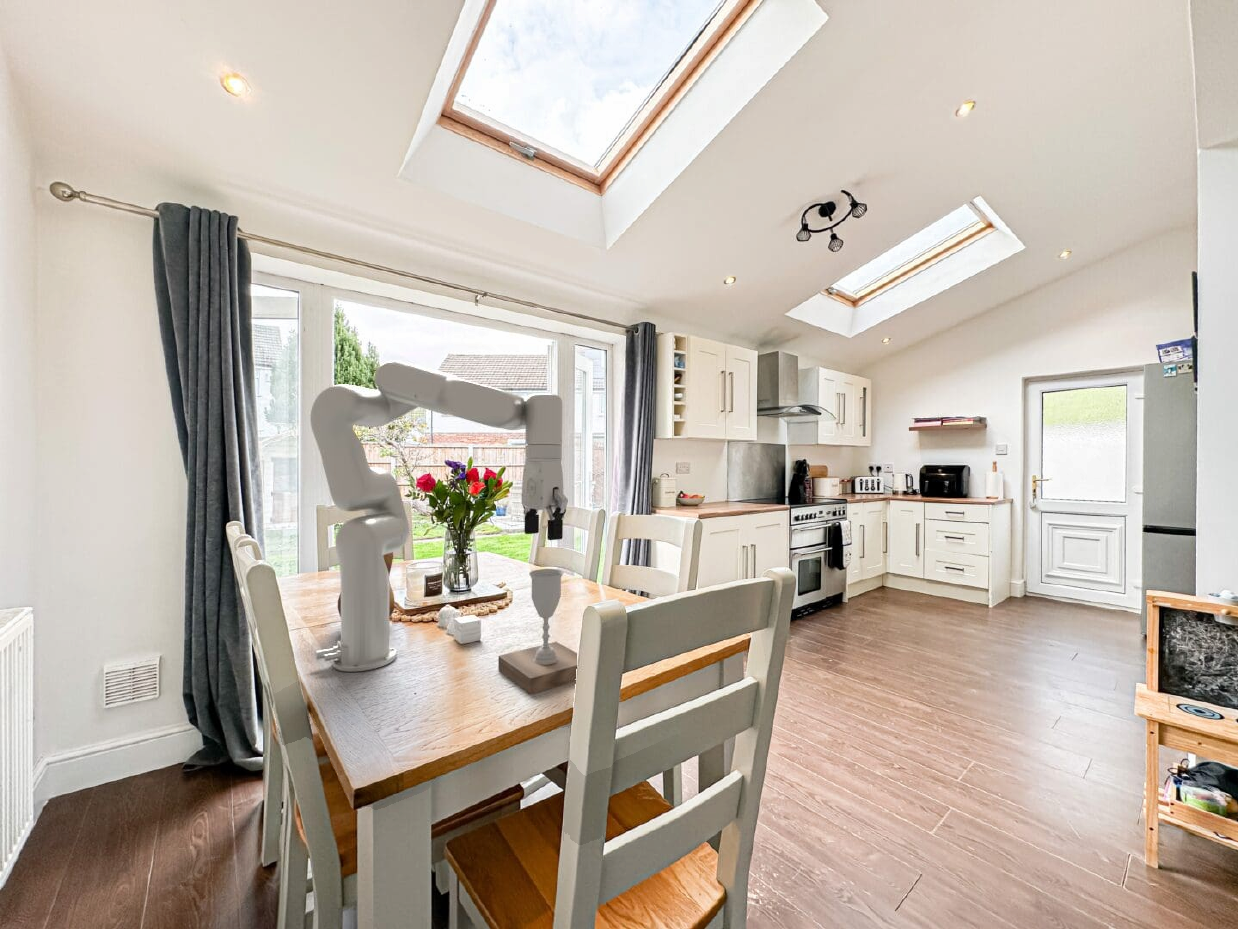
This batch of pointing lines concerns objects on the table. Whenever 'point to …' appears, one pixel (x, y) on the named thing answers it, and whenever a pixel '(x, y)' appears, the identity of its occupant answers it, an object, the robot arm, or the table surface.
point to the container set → (460, 625)
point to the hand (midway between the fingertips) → (542, 536)
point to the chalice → (546, 607)
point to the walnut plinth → (539, 668)
